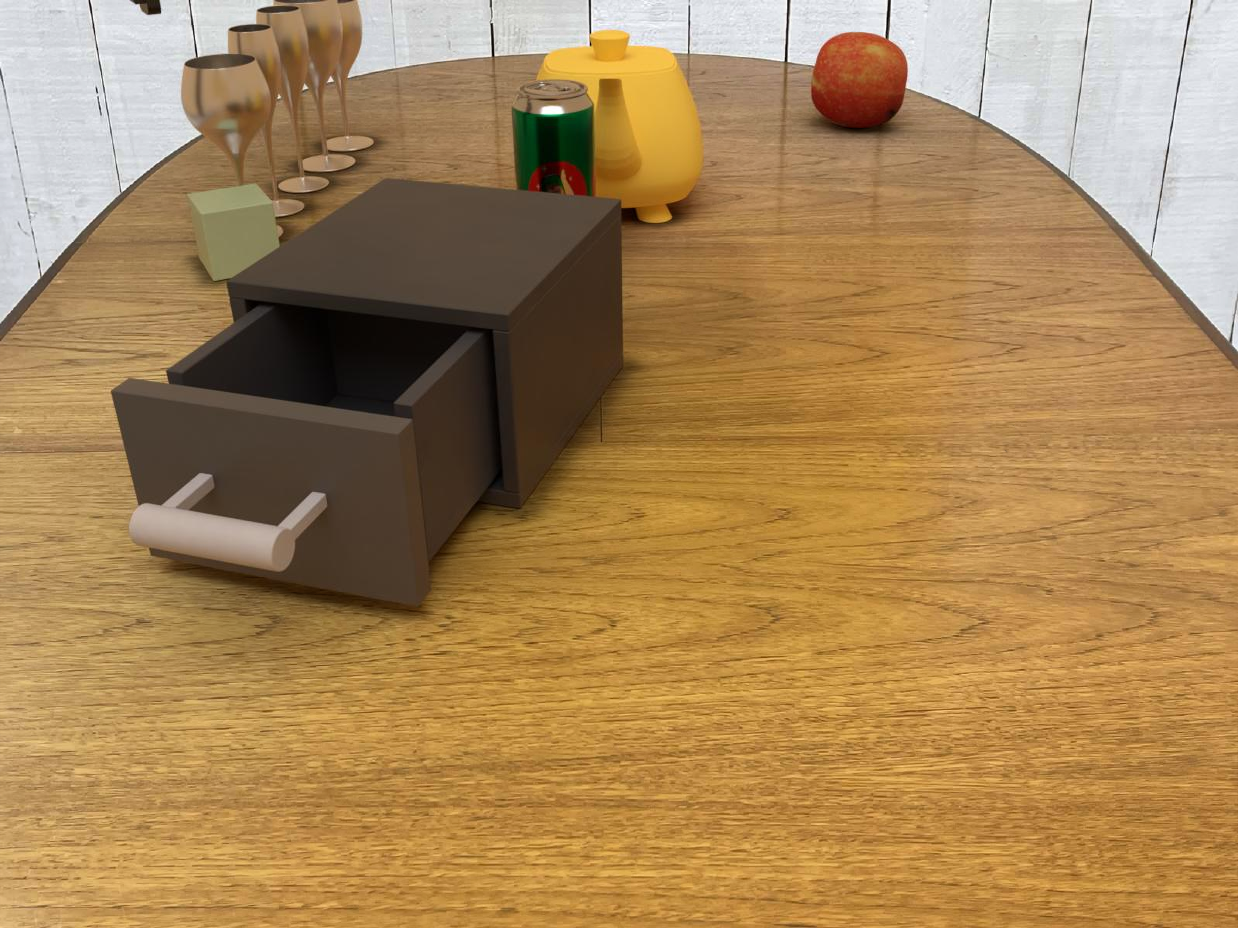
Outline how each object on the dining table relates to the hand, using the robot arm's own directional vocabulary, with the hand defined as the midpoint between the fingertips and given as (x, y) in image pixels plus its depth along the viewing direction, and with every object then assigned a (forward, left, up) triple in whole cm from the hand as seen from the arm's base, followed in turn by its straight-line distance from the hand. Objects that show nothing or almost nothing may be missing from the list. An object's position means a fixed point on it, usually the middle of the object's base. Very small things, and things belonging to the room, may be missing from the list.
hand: (230, 4), depth 69 cm
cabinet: (+5, -19, -18) cm, 26 cm away
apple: (+56, +15, -18) cm, 60 cm away
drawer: (-4, -27, -17) cm, 32 cm away
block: (0, +8, -18) cm, 20 cm away
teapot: (+27, +6, -18) cm, 33 cm away
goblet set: (+8, +23, -18) cm, 30 cm away
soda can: (+18, -4, -18) cm, 25 cm away
